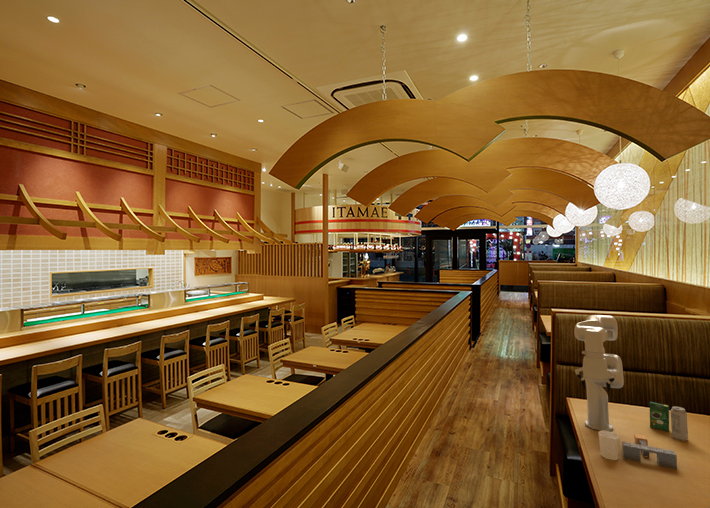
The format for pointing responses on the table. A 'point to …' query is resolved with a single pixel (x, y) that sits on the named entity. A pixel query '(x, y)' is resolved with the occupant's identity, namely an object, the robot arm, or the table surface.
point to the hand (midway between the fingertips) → (595, 389)
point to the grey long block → (663, 455)
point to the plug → (641, 442)
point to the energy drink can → (679, 423)
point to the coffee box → (659, 416)
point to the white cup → (609, 444)
